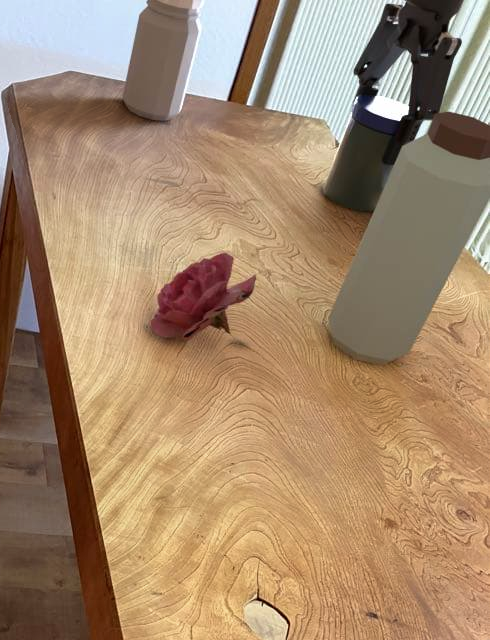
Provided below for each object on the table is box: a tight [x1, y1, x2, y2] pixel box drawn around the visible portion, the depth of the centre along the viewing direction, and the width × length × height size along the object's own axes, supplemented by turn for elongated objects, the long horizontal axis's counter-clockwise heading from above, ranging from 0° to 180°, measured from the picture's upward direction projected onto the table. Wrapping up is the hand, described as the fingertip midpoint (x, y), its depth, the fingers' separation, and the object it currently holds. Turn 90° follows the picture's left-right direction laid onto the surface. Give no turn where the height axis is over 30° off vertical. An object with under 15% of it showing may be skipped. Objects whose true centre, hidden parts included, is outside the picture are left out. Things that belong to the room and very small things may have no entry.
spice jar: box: [322, 113, 394, 212], centre depth 131 cm, size 9×9×13 cm
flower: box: [150, 252, 257, 346], centre depth 96 cm, size 11×10×10 cm
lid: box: [350, 95, 409, 135], centre depth 126 cm, size 9×9×2 cm
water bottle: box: [327, 111, 490, 366], centre depth 95 cm, size 10×10×25 cm
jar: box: [122, 0, 205, 122], centre depth 139 cm, size 10×10×18 cm
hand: (371, 148), depth 130 cm, fingers closed on lid, 9 cm apart
